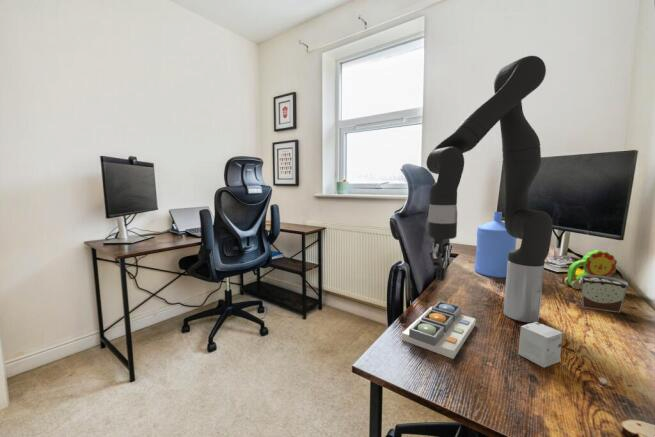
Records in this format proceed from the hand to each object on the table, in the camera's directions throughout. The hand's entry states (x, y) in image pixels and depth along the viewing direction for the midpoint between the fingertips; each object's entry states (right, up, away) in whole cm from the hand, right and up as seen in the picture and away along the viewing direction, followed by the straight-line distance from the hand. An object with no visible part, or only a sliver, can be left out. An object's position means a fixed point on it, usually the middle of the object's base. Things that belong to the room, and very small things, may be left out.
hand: (440, 279), depth 84 cm
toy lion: (+71, -10, +31) cm, 78 cm away
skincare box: (+18, -16, -15) cm, 28 cm away
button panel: (-1, -14, -3) cm, 14 cm away
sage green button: (-7, -12, -9) cm, 17 cm away
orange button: (-2, -12, -3) cm, 12 cm away
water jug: (+43, -7, +49) cm, 66 cm away
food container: (+58, -12, +14) cm, 61 cm away
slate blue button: (+3, -11, +3) cm, 12 cm away
